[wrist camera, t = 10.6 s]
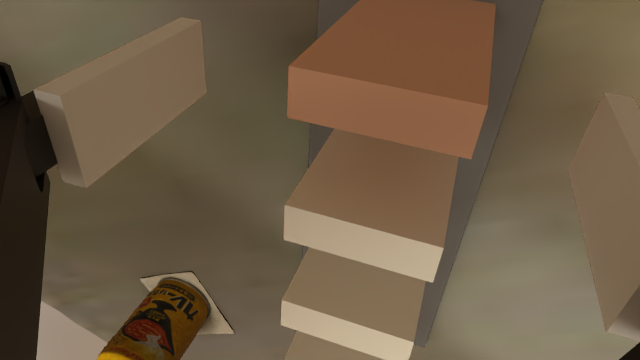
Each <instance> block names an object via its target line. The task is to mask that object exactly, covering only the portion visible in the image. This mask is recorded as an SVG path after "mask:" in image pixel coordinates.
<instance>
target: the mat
mask: <svg viewBox="0 0 640 360" xmlns="http://www.w3.org/2000/svg"><path fill="white" fill-rule="evenodd" d="M358 1H359V0H319V7H318V23H317V38H316V40H317V39H318V38H319V37H321V36H322V35H323V34H324V33H325V32H326V31H327V30H328V29H329V28H330V27H331V26H332V25H333V24H335V23H336V22H337V21H338V20H339V19H340V18H341V17H342V16H343V15H344V14H345V13H346V12H348V11H349V10H350V9H351V8H352V7H353V6H354V5H355V4H356V3H357V2H358ZM473 1H480V2H486V3H493V4H496V9H495V22H494V35H493V48H492V61H491V74H490V87H489V100H488V108H487V111H486V114H485V117H484V120H483V123H482V127H481V130H480V133H479V136H478V139H477V142H476V146H475V149H474V152H473V155H472V158H471V159H467V158H462V157H459V158H458V164H457V170H456V177H455V183H454V189H453V195H452V201H451V207H450V213H449V219H448V225H447V232H446V238H445V244H444V249H443V252H442V255H441V259H440V262H439V265H438V268H437V271H436V274H435V278H434V281H433V283H431V282H428V281H426V283H425V288H424V293H423V299H422V304H421V309H420V314H419V319H418V324H417V330H416V335H415V340H414V344H415V345H418V346H421V347H425V344H426V342H427V339H428V336H429V333H430V330H431V327H432V324H433V321H434V318H435V315H436V312H437V309H438V306H439V304H440V301H441V298H442V295H443V292H444V289H445V286H446V283H447V280H448V277H449V274H450V271H451V268H452V265H453V263H454V260H455V257H456V254H457V251H458V248H459V245H460V242H461V239H462V236H463V233H464V230H465V227H466V225H467V222H468V219H469V216H470V213H471V210H472V207H473V204H474V201H475V198H476V195H477V192H478V189H479V186H480V184H481V181H482V178H483V175H484V172H485V169H486V166H487V163H488V160H489V157H490V154H491V151H492V148H493V146H494V143H495V140H496V137H497V134H498V131H499V128H500V125H501V122H502V119H503V116H504V113H505V110H506V108H507V105H508V102H509V99H510V96H511V93H512V90H513V87H514V84H515V81H516V78H517V75H518V72H519V69H520V67H521V64H522V61H523V58H524V55H525V52H526V49H527V46H528V43H529V40H530V37H531V34H532V31H533V29H534V26H535V23H536V20H537V17H538V14H539V11H540V8H541V5H542V2H543V0H473ZM333 130H334V128H330V127H326V126H321V125H317V124H312V123H311V128H310V143H309V159H308V168H309V167H310V165H311V164H312V162H313V161H314V159H315V158H316V156H317V155H318V153H319V152H320V150H321V148H322V147H323V145H324V144H325V142H326V141H327V139H328V138H329V136H330V135H331V133H332V132H333ZM308 248H309V247H307V246H304V245H303V249H302V260H303V258H304V256H305V254H306V252H307V250H308Z"/></svg>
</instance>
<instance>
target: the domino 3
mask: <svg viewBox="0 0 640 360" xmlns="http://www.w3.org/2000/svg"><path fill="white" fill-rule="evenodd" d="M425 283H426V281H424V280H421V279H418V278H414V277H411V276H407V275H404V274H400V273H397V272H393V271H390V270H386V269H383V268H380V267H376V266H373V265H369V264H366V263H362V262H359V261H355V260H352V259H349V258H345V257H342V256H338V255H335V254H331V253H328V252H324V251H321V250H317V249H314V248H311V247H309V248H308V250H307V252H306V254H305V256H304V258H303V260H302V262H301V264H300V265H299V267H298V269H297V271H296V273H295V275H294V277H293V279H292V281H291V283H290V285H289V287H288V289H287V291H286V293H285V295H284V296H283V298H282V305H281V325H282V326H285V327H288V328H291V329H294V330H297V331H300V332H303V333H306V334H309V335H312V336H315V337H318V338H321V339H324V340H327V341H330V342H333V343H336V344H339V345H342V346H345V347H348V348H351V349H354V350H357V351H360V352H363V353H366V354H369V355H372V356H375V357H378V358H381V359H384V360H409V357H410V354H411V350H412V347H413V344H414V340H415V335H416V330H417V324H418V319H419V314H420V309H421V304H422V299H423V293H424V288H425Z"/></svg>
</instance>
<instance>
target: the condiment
mask: <svg viewBox="0 0 640 360" xmlns="http://www.w3.org/2000/svg"><path fill="white" fill-rule="evenodd" d="M140 280H141V282H142V283H143V284H144V285H145V286H146V288H147V289H148V290H149V291H150V293H149V294H148V295H147V297H146V298H145V299H144V300H143V302H142V303H141V304H140V305H139V307H138V308H137V309H136V310H135V311H134V312H133V314H132V315H131V316H130V317H129V319H128V320H127V321H126V322H125V323H124V325H123V326H122V327H121V328H120V330H119V331H118V332H117V334H116V335H115V336H113V337H112V339H111V340H110V341H109V342H108V344H107V346H105V347H104V349H103V350H102V352H101V353H100V354H99V356H98V358H97V360H180V359H181V357H182V356H183V354H184V353H185V351H186V350H187V348H188V347H189V345H190V344H191V343H192V341H193V339H194V337H195V336H196V335H201V334H212V333H214V334H223V333H226V334H233V333H234V332H233V330H232V329H231V328H230V326H229V324H228V323H227V322H226V321H225V319H224V317H223V316H222V314H221V313H220V312H219V310H218V309H217V307H216V305H215V304H214V302H213V300H212V299H211V297H210V296H209V295H208V293H207V292H206V290H205V289H204V287H203V286H202V284H201V283H200V282H199V280H198V279H197V277H196V276H195V275H194V274H193V273H192V272H186V273H174V274H166V275H160V276H154V277H150V278H142V279H140ZM209 316H211V318H210V319H211V320H210V321H209Z"/></svg>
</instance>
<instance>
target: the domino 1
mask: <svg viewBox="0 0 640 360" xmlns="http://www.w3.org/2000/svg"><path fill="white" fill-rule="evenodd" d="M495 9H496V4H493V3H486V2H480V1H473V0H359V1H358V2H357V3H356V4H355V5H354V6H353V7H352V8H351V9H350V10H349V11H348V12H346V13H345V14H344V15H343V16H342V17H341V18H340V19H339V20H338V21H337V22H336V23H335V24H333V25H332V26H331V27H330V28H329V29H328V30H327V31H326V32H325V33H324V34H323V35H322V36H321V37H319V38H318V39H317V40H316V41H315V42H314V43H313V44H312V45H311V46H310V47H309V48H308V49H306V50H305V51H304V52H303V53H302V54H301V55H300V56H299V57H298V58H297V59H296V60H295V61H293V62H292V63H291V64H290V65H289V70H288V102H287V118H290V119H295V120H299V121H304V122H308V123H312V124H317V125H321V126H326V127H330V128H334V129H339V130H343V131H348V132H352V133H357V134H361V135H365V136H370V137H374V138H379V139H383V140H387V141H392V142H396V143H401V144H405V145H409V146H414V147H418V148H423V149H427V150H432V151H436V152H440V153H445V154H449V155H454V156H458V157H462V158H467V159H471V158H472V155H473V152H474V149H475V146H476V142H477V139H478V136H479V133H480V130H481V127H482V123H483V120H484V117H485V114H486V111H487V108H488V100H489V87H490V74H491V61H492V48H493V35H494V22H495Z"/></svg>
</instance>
